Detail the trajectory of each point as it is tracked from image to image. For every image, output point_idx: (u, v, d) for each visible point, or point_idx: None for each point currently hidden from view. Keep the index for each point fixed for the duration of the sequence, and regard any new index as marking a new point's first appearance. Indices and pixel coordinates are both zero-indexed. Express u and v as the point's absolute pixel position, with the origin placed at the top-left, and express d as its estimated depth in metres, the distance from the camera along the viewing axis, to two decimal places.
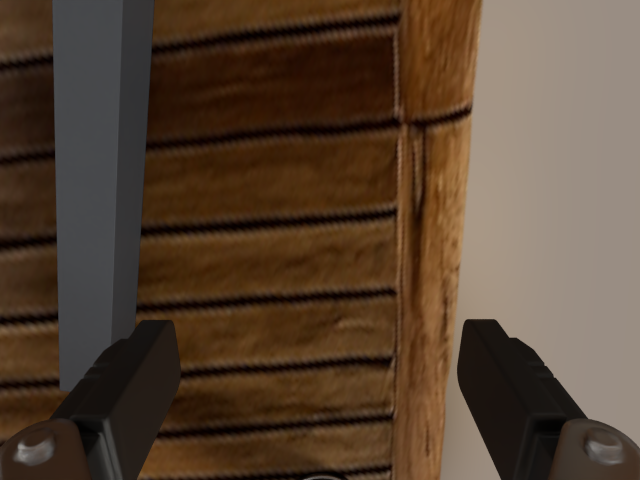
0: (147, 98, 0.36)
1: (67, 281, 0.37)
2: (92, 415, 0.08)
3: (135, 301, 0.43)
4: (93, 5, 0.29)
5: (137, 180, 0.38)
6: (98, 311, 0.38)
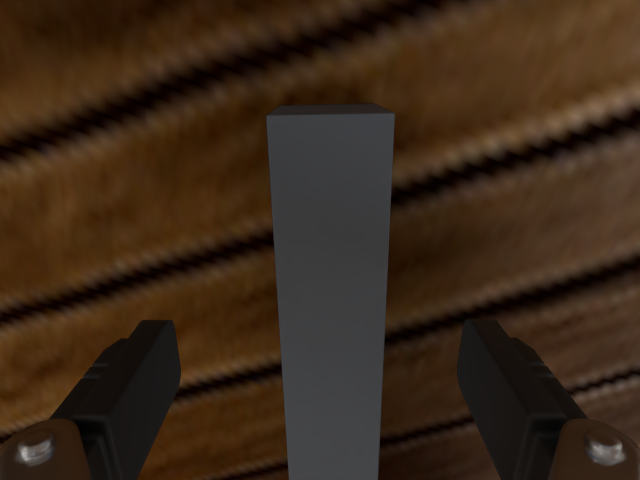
0: None
1: (364, 383, 0.20)
2: (92, 415, 0.08)
3: None
4: None
5: None
6: (305, 341, 0.19)
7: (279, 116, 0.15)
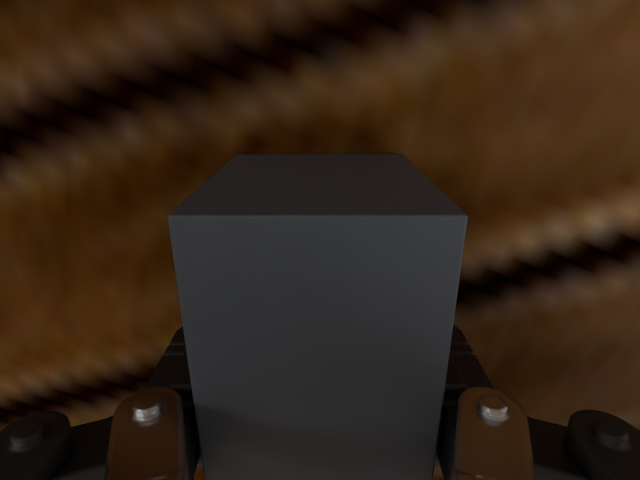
0: None
1: None
2: (186, 385, 0.09)
3: None
4: None
5: None
6: None
7: (197, 218, 0.07)
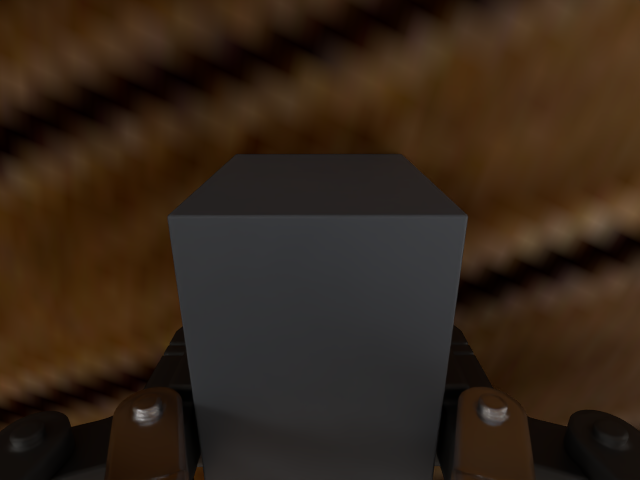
0: None
1: None
2: (186, 385, 0.09)
3: None
4: None
5: None
6: None
7: (197, 218, 0.07)
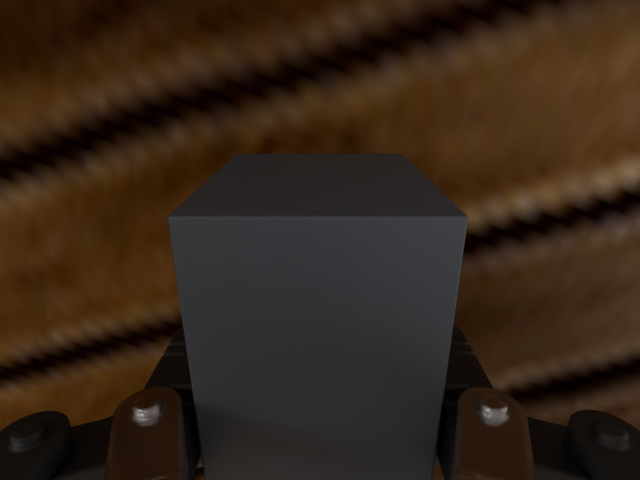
0: None
1: None
2: (186, 385, 0.09)
3: None
4: None
5: None
6: None
7: (197, 218, 0.07)
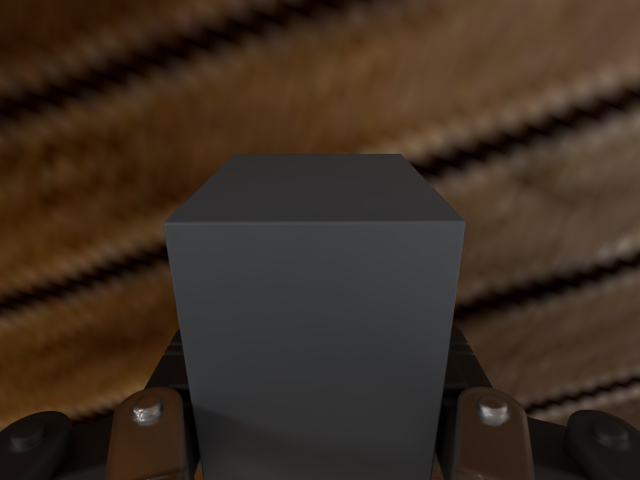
0: None
1: None
2: (187, 385, 0.09)
3: None
4: None
5: None
6: None
7: (193, 225, 0.07)
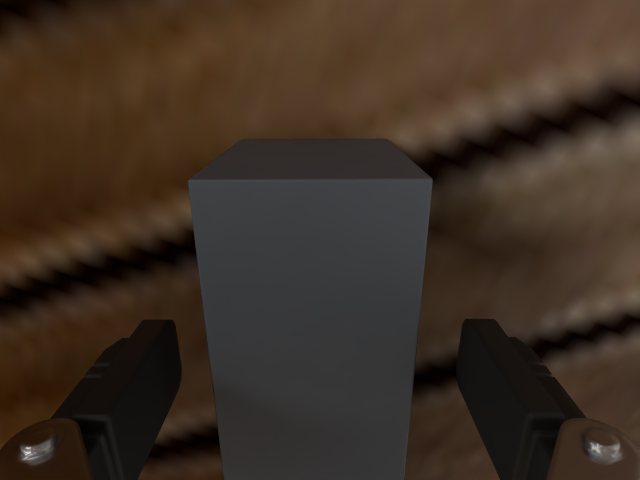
0: None
1: None
2: (93, 414, 0.08)
3: None
4: None
5: None
6: None
7: (212, 181, 0.08)
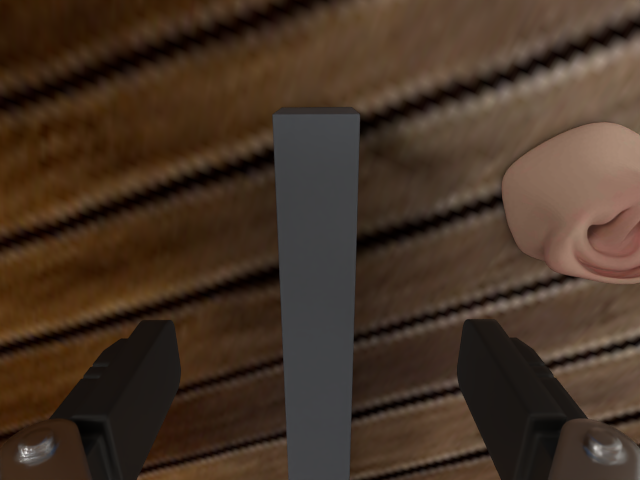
0: None
1: (341, 312, 0.27)
2: (92, 415, 0.08)
3: None
4: None
5: None
6: (298, 278, 0.26)
7: (281, 115, 0.23)
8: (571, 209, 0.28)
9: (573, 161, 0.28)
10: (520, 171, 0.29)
